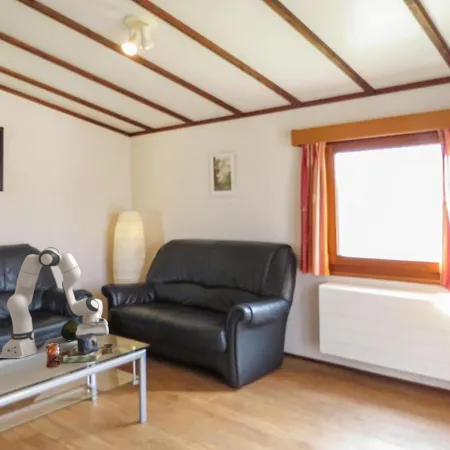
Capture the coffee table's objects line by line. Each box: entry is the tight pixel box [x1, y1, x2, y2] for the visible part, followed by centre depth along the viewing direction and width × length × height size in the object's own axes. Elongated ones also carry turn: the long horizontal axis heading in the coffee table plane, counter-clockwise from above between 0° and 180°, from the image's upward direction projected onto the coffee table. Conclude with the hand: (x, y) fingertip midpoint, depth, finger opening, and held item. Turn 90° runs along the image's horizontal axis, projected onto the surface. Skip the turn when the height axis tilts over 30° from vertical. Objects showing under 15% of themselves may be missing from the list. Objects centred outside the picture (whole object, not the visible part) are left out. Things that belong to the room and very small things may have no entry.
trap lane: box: [58, 341, 117, 364], centre depth 276 cm, size 32×25×3 cm
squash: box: [60, 317, 81, 341], centre depth 310 cm, size 14×15×15 cm
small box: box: [76, 333, 99, 356], centre depth 279 cm, size 11×6×10 cm, turn 140°
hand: (90, 342), depth 286 cm, fingers closed
